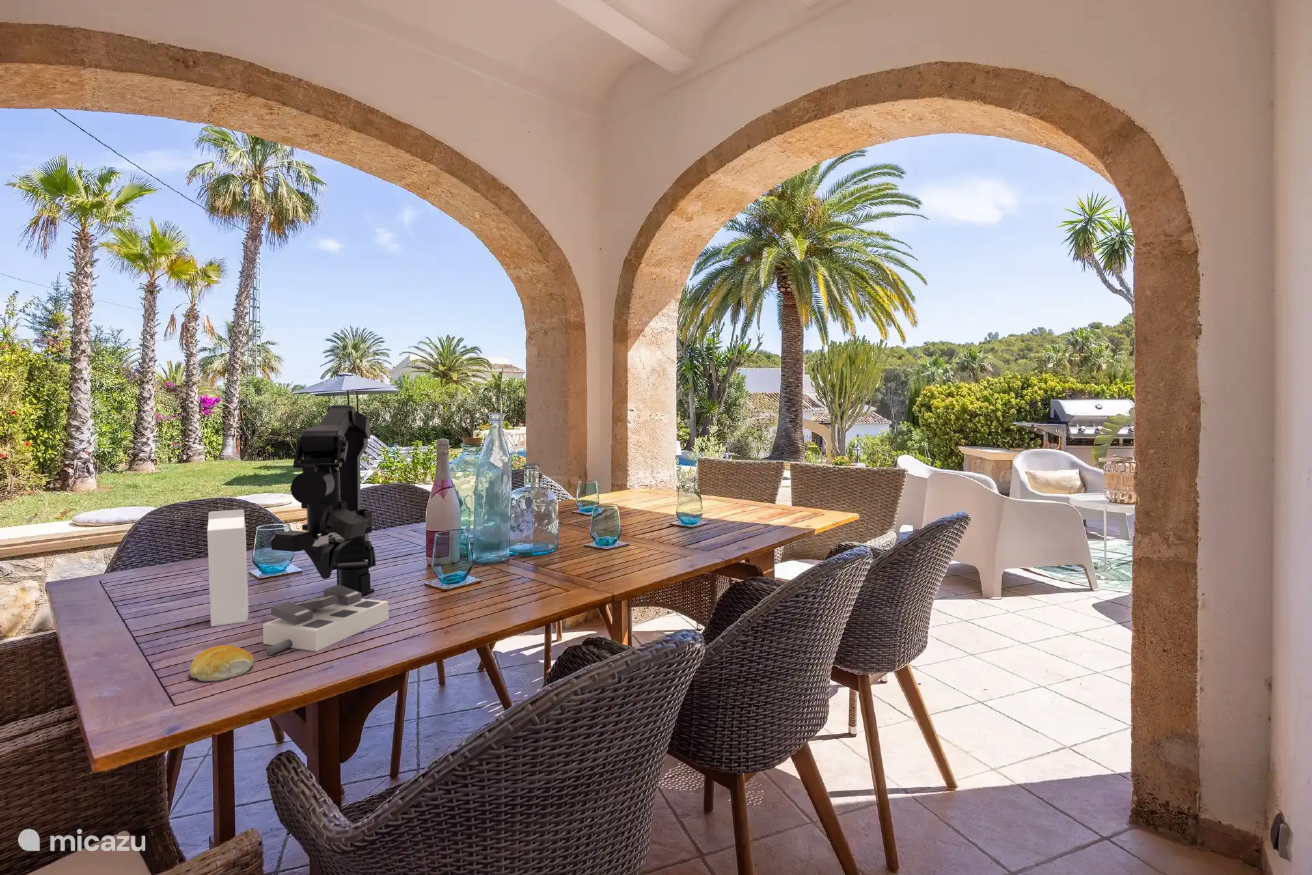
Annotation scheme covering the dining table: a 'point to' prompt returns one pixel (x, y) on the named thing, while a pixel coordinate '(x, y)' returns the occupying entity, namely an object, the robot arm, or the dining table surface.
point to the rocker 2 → (343, 594)
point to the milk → (227, 567)
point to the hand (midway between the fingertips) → (325, 578)
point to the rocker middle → (319, 602)
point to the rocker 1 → (291, 612)
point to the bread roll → (221, 663)
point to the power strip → (325, 626)
